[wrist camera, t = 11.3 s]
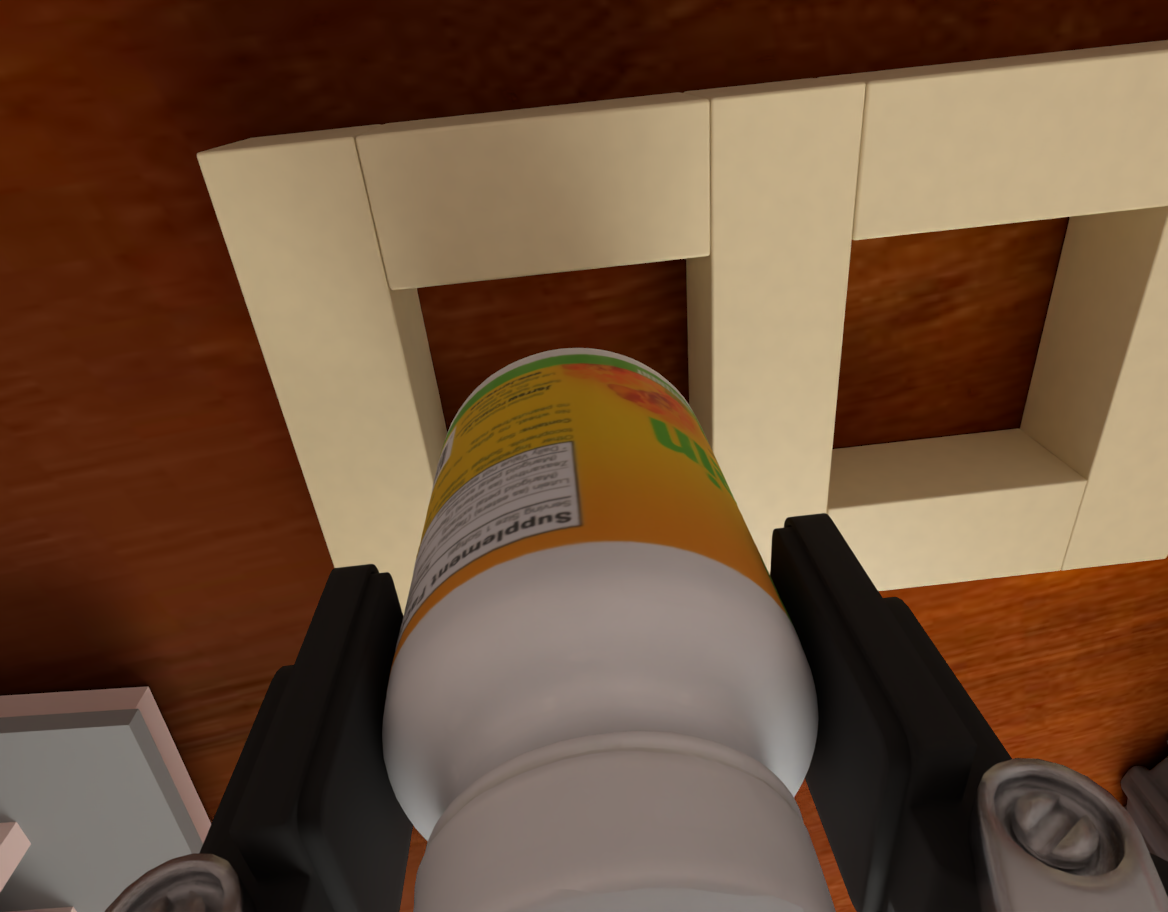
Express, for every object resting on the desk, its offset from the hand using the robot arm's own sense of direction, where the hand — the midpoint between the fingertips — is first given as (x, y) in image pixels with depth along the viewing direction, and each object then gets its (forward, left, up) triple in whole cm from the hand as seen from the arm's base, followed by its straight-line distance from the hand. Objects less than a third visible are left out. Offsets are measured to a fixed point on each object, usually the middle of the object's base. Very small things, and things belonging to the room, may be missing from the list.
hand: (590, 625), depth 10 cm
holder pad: (0, +5, -10) cm, 11 cm away
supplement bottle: (0, 0, -5) cm, 5 cm away
